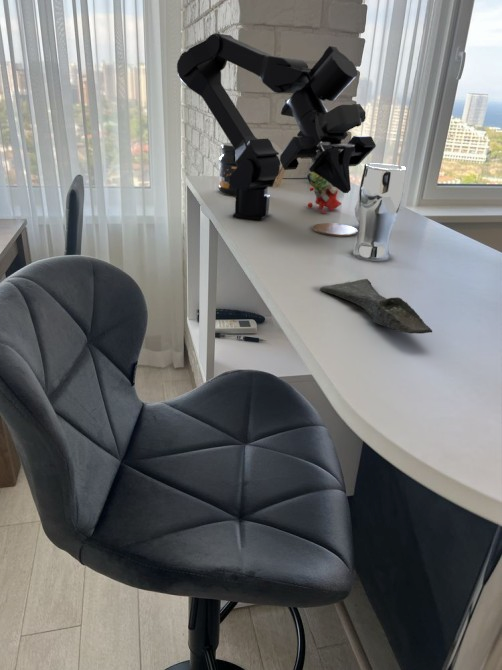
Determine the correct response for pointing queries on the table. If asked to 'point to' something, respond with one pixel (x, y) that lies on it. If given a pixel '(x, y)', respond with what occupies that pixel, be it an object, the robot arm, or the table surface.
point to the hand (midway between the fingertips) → (347, 191)
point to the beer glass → (378, 209)
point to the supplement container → (227, 169)
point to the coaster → (335, 229)
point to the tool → (380, 306)
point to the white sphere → (357, 211)
